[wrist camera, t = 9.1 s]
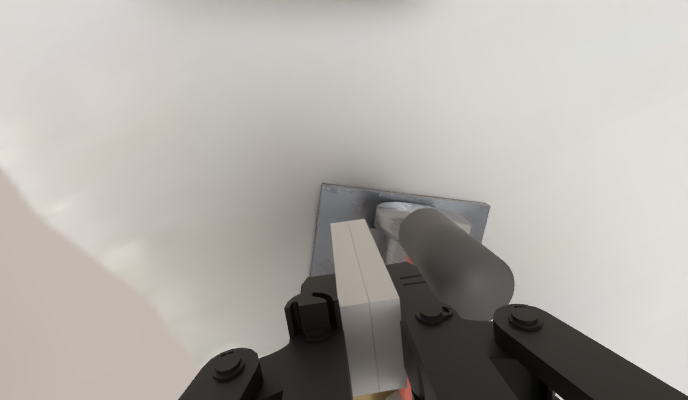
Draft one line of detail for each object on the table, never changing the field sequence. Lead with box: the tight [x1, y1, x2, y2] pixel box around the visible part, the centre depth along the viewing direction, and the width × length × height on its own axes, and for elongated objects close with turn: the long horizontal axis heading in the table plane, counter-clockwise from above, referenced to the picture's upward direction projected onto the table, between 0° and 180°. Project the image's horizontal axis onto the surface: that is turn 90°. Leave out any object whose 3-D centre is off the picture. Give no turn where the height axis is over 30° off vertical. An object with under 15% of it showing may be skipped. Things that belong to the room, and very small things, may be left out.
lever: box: [385, 208, 514, 400], centre depth 16 cm, size 16×4×6 cm, turn 0°
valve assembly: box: [310, 183, 490, 400], centre depth 25 cm, size 24×14×10 cm, turn 172°
